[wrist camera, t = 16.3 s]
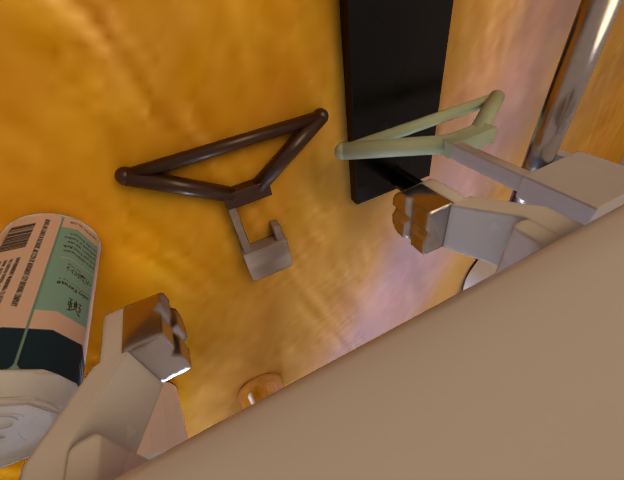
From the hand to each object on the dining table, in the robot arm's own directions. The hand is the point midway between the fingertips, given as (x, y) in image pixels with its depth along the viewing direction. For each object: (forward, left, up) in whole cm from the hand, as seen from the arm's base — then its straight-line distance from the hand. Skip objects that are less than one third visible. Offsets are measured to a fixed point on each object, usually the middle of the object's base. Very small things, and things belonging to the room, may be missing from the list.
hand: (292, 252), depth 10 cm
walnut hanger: (-1, 0, -12) cm, 12 cm away
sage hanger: (-13, +2, -10) cm, 17 cm away
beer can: (+12, +3, -13) cm, 18 cm away
